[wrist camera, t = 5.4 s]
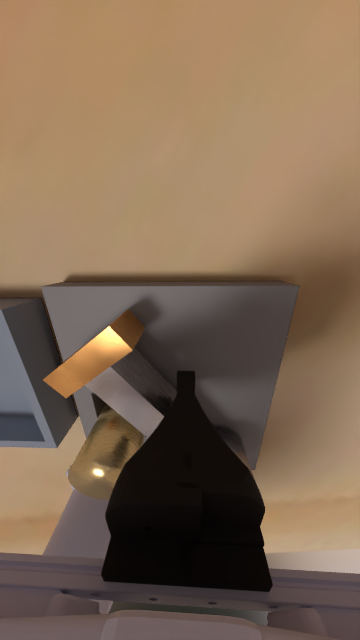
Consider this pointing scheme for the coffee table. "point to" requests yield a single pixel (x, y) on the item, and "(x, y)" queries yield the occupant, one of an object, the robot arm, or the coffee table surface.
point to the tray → (30, 378)
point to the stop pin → (104, 454)
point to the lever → (125, 379)
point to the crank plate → (189, 341)
